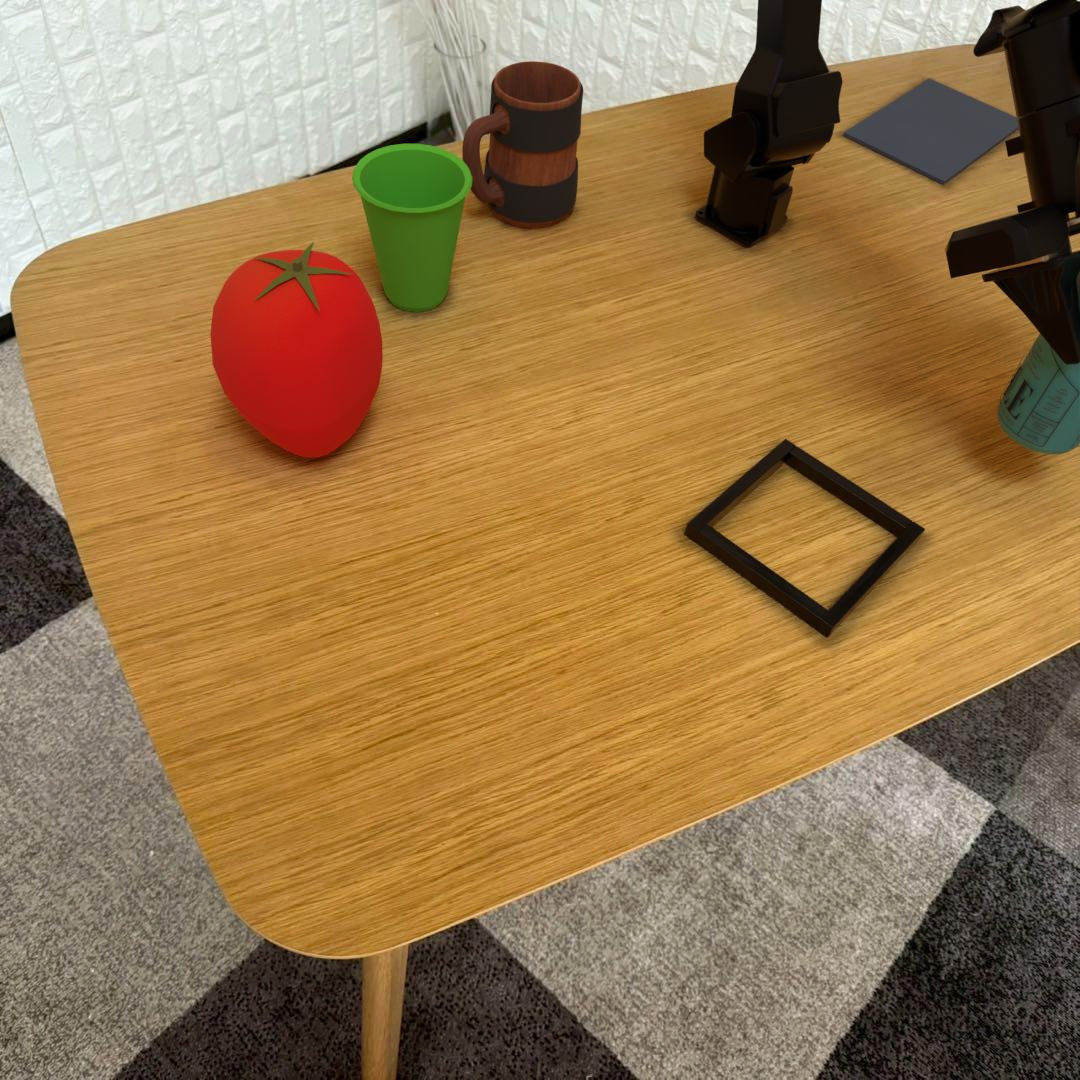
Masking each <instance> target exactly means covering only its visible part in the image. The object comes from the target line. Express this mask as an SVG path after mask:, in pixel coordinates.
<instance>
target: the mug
mask: <svg viewBox="0 0 1080 1080" xmlns="http://www.w3.org/2000/svg"><path fill="white" fill-rule="evenodd" d="M490 84H491V85H490V88H491V89H490V101H489V102H490V106H489V114H488V115H484V116H481V117H478V118H476V119H475V120H474V121H472V122H471V123H470V124H469V126H468V127H467V128H466V130H465V133H464V136H463V140H462V152H461V153H462V160H463V161H464V163H465V164H466V165H467V166H468V168H469V170H470V172H471V175H472V187H471V189H470V191H471V192H472V194H473V195H474V197H475V198H476V199H477V200H478V201H480V202H483V203H485V204H487V206H488V208H489V209H490V211H491V212H492V213H493V215H494V216H495V217H496V218H498V219H499V220H501V221H503V222H505V223H507V224H509V225H512V226H516V227H519V228H527V229H538V228H546V227H550V226H553V225H555V224H558V223H560V222H561V221H563V220H564V219H565V218H566V217H567V216H568V215H569V213H571V211H573V209H574V208H575V205H576V202H577V194H578V186H579V185H578V184H579V161H578V157H577V151H578V140H579V138H580V136H581V130H582V112H583V111H582V110H583V99H584V85H583V84H582V82H581V80H580V78H579V77H578V75H576V74H575V73H574V72H573V71H572V70H570V69H568V68H566V67H564V66H562V65H560V64H559V65H558V64H555V63H553V62H547V61H536V60H532V61H531V60H530V61H528V60H527V61H520V62H515V63H511V64H509V65H506V66H504V67H503V68H501V69H499V70H498V72H497V73H496V74H495V75H494V78H492V81H491V83H490ZM488 134H489V142H488V143H489V145H488V150H487V152H486V154H485V161H484V171H483V166H482V162H481V141H482V139H483V137H484V136H486V135H488Z"/></svg>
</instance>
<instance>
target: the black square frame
mask: <svg viewBox="0 0 1080 1080" xmlns="http://www.w3.org/2000/svg"><path fill="white" fill-rule="evenodd" d="M783 465H788V466H789V467H791V468H792V469H794V470H795V471H797V472H798V473H800V474H801V475H803V476H804V477H806V478H807V479H809V480H810V481H812V482H814V483H815V484H816V485H818V486H820V488H822V489H824V490H826V491H827V492H829V493H830V494H832V495H833V496H835V497H836V498H838V499H840V500H841V501H842V502H844V503H846V504H847V505H849V506H850V507H852V508H853V509H854V510H856V511H858V513H861V514H862V515H863V516H865V517H867V518H868V519H870V520H871V521H873V522H874V523H876V524H877V525H879V526H880V527H882V528H884V529H885V530H887V531H888V532H889V533H891V534H892V535H894V536H895V537H896V539H894V541H893V542H892V543H891V544H890V545H889V546H887V548H886V549H885V550H884V551H883V552H882V553H881V555H879V556H878V558H877V559H875V560H874V561H873V562H872V564H870V565H869V567H868V568H866V570H865V571H864V572H862V574H861V575H860V576H859V577H858V578H857V579H856V580H855V582H854V583H853V584H852V585H851V586H849V588H847V590H846V591H845V592H844V593H843V594H842V595H841V596H840V597H839V599H837V600H836V601H835V603H834V604H832V606H830V607H829V609H827V607H825V606H823V605H822V604H821V603H819V602H817V601H816V600H815V599H814V598H812V597H811V596H809V595H808V594H807V593H805V592H804V591H802V590H800V589H799V588H798V587H796V586H795V585H794V584H792V583H791V582H789V581H788V580H787V579H785V578H784V577H782V576H781V575H780V574H778V573H777V572H775V571H774V570H773V569H772V568H770V567H769V566H767V565H766V564H764V563H763V562H761V561H760V560H759V559H757V558H756V557H754V556H753V555H752V554H750V553H749V552H747V551H746V550H745V549H743V548H741V547H740V546H739V545H737V543H735V542H733V541H732V540H731V539H729V538H728V537H726V536H725V535H724V534H722V533H721V532H719V531H718V530H716V529H715V528H714V527H715V525H716V524H717V523H719V522H720V521H721V520H722V519H723V518H724V517H725V516H726V515H728V514H729V513H730V512H731V511H732V510H733V509H734V508H735V507H737V506H738V505H739V504H741V502H742V501H743V500H745V499H746V498H747V497H748V496H749V495H751V493H753V492H754V491H755V490H756V489H757V488H758V487H759V486H760V485H762V484H763V483H764V482H765V481H766V480H767V479H768V478H770V477H771V476H772V475H773V474H774V473H775V472H776V471H777V470H779V469H780V468H781V467H782V466H783ZM925 531H926V528H924V526H921V524H918V523H917V522H915V521H913V520H912V519H911V518H909V517H908V516H906V515H905V514H903V513H901V512H900V511H898V510H896V509H895V508H893V507H892V506H890V505H889V504H888V503H886V502H884V501H883V500H881V499H880V498H878V497H876V496H875V495H873V494H872V493H871V492H869V491H867V490H866V489H865V488H863V487H861V486H860V485H858V484H856V483H855V482H853V481H852V480H850V479H848V478H847V477H845V476H844V475H842V474H841V473H840V472H838V471H836V470H835V469H834V468H832V467H831V466H828V465H827V464H825V462H822V461H821V460H819V459H818V458H816V457H815V456H813V455H812V454H810V453H808V452H806V451H805V450H804V449H802V448H801V447H799V446H797V445H796V444H795V443H794V442H792V441H790V440H788V439H787V438H785V439H783V440H782V441H781V442H780V443H779V444H778V445H776V446H775V447H774V448H772V449H771V451H769V452H768V453H767V454H766V455H765V456H764V457H763V458H761V459H760V460H759V461H758V462H757V463H755V464H754V465H753V466H751V468H750V469H748V471H746V472H745V473H743V475H741V476H740V477H739V478H738V479H737V480H736V481H734V482H733V483H732V484H731V485H730V486H728V488H726V489H725V490H724V491H723V492H721V493H720V494H719V495H718V496H717V497H716V498H715V499H714V500H712V502H710V503H709V504H708V505H707V506H706V507H704V508H703V509H702V510H701V511H699V512H698V513H697V514H696V515H695V516H694V517H693V518H691V520H690V521H688V522H687V523H686V526H685V530H684V533H683V534H684V536H686V537H688V538H689V539H690V540H692V541H693V542H695V544H697V545H698V546H700V547H701V548H703V549H704V550H705V551H706V552H708V553H710V554H711V555H713V556H714V557H715V558H717V559H718V560H719V561H721V562H722V563H724V564H725V565H726V566H728V568H730V569H732V570H733V571H734V572H736V573H737V574H739V575H740V576H742V578H744V579H746V580H747V581H748V582H750V583H751V584H753V585H754V586H755V587H756V588H758V589H759V590H761V591H762V592H764V593H765V594H766V595H768V596H769V597H770V598H771V599H773V600H774V601H776V602H777V603H778V604H780V605H781V606H783V607H784V608H786V609H787V610H788V611H790V612H791V613H792V614H794V615H796V617H798V618H799V619H800V620H802V621H804V622H805V623H806V624H807V625H809V626H810V627H812V628H813V629H815V630H816V631H818V632H819V633H820V634H822V635H823V636H824V637H826V638H829V637H830V636H831V635H832V634H833V633H834V632H835V631H836V630H837V628H838V627H840V625H841V624H842V623H843V622H844V621H845V620H846V619H847V618H848V617H849V615H851V613H852V612H853V611H854V610H855V609H856V608H857V607H858V606H859V605H860V604H861V603H862V602H863V601H864V599H865V598H867V596H868V595H869V594H870V593H871V592H872V591H873V590H874V589H875V588H876V586H877V585H878V584H880V583H881V581H882V580H883V579H884V578H885V577H886V576H887V575H888V574H889V573H890V572H891V571H892V569H893V568H894V567H895V566H896V565H897V564H899V562H900V561H901V560H902V559H903V558H904V557H905V556H906V555H907V553H908V552H909V551H911V549H912V548H913V547H914V546H915V545H916V544H917V543H918V542H919V541H920V539H921V538H922V536H923V534H924V532H925Z"/></svg>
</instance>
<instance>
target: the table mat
mask: <svg viewBox="0 0 1080 1080" xmlns="http://www.w3.org/2000/svg"><path fill="white" fill-rule="evenodd" d="M1017 120H1018V119H1017V117H1016V115H1015V116H1014V115H1013V114H1010V113H1008V112H1006V111H1004V110H1001V109H999V108H997V107H994V106H992V105H990V104H988V103H985V102H983V101H981V100H979V99H977V98H974V97H973V96H970V95H967V94H966V93H964V92H961V91H959V90H957V89H954V88H952V87H950V86H948V85H945V84H944V83H941V82H938V81H936V80H934V79H932V78H930V77H929V78H927V79H926V80H925V81H923V82H921V83H919V84H918V85H917V86H915V87H913V88H912V89H910V90H908V91H907V92H905V93H904V94H902V95H901V96H899V97H898V98H896V99H894V100H893V101H891V102H889V103H888V104H886V105H885V106H883V107H882V108H880V109H878V110H876V111H875V112H874V113H872V114H870V115H869V116H868V117H866V118H864V119H863V120H861V121H860V122H858V123H856V124H854V125H853V126H852V127H850V128H848V129H847V130H845V131H844V132H843V135H842V136H844V137H845V138H848V139H849V140H851V141H854V142H855V143H857V144H859V145H862V146H863V147H865V148H868V149H870V150H872V151H874V152H876V153H878V154H880V155H882V156H883V157H886V158H888V159H890V160H892V161H894V162H896V163H899V164H900V165H902V166H905V167H906V168H909V169H910V170H912V171H915V172H917V173H919V174H921V175H923V176H925V177H927V178H929V179H931V180H933V181H935V182H937V183H939V184H941V185H945V184H947V183H948V182H950V181H951V180H952V179H953V178H955V177H956V176H957V175H958V174H960V173H961V172H963V171H964V170H965V169H967V168H968V167H969V166H971V165H972V164H973V163H975V162H976V161H978V160H979V159H980V158H981V157H983V156H984V155H986V154H987V153H988V152H989V151H991V150H992V149H993V148H995V147H996V146H998V145H999V144H1001V143H1002V142H1003V141H1005V140H1006V139H1007V138H1008V137H1010V136H1011V135H1012V134H1014V133H1016V131H1019V129H1018V123H1017Z"/></svg>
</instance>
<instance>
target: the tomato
mask: <svg viewBox="0 0 1080 1080" xmlns="http://www.w3.org/2000/svg"><path fill="white" fill-rule="evenodd" d="M314 243H315V241H312V243H310V244H309V245H308V246H307V248H305V249H287V250H286V249H285V250H277V251H270V252H266V253H262V254H258V255H257V256H253V258H251V259H249V260H247V261H245V262H243V263H242V264H241V265H239V266H238V267H237V268H236V269H234V271H233V272H232V273H231V274H230V275H229V276H228V277H227V279H226V280H225V281H224V283H223V286H222V287H221V289H220V292H219V293H218V296H217V297H216V300H215V302H214V304H213V308H212V316H211V323H210V333H209V334H210V335H209V336H210V349H211V359H212V367H213V369H214V372H215V374H216V377H217V379H218V381H219V384H220V386H221V388H222V391H223V393H224V395H225V396H226V398H227V399H228V400H229V401H230V403H231V404H232V405H233V407H234V408H235V410H236V411H237V412H238V413H239V414H240V415H241V416H242V418H243V419H244V420H245V421H246V422H248V424H250V425H251V426H252V427H253V428H254V429H255V430H257V432H259V433H260V434H261V435H262V436H263V437H264V438H266V439H267V440H269V441H271V442H272V443H273V444H275V445H277V446H278V447H280V448H281V449H283V450H285V451H286V452H288V453H291V454H293V455H295V456H299V457H303V458H319V457H323V456H326V455H329V454H330V453H332V452H334V451H335V450H336V449H338V448H339V447H341V446H342V445H343V444H345V443H346V442H347V441H348V440H349V439H350V438H351V437H352V436H353V435H354V434H355V433H356V431H357V430H358V429H359V428H360V426H361V424H362V423H363V421H364V418H365V417H366V416H367V414H368V412H369V411H370V409H371V406H372V404H373V402H374V399H375V397H376V394H377V392H378V391H377V390H379V386H380V382H381V377H382V372H383V371H382V370H383V362H384V361H383V359H384V358H383V357H384V356H383V355H384V354H383V337H382V329H381V323H380V321H379V317H378V313H377V311H376V307H375V304H374V301H373V299H372V297H371V295H370V293H369V291H368V289H367V288H366V286H365V284H364V282H363V281H362V278H361V277H360V276H359V274H358V273H357V272H356V271H355V270H354V269H353V268H352V266H351V267H350V266H349V265H348V264H347V263H345V262H344V261H343V260H342V259H340V258H339V257H337V256H335V255H333V254H330V253H327V252H323V251H318V250H312V249H313V247H314Z"/></svg>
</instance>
